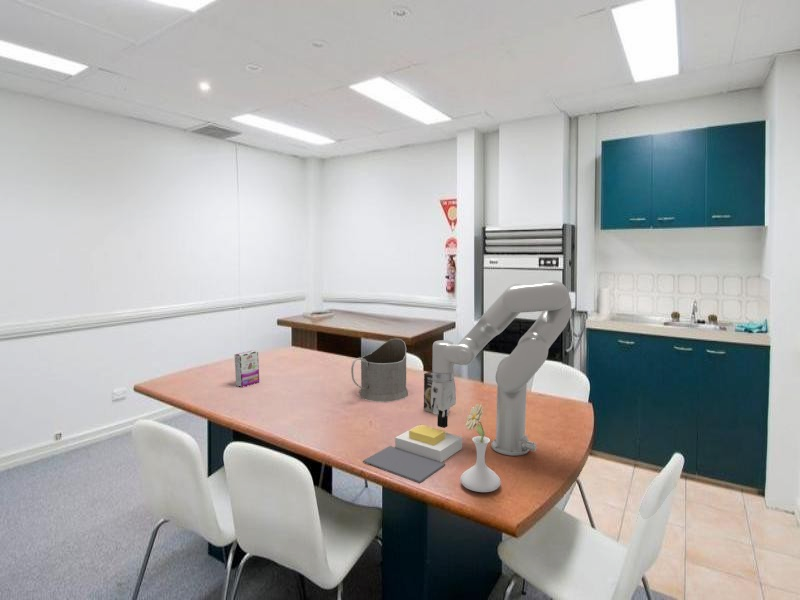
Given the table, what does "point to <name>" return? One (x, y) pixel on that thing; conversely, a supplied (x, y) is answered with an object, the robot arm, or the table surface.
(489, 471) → the flower in vase
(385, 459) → the mat
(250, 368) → the candy bar box
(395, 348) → the pitcher
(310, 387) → the table surface
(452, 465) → the table surface
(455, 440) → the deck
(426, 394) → the coffee box
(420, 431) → the tile
